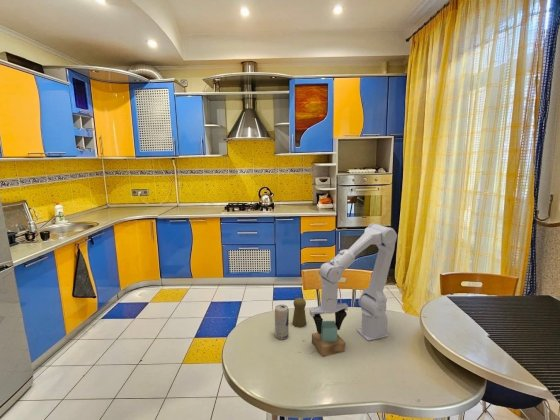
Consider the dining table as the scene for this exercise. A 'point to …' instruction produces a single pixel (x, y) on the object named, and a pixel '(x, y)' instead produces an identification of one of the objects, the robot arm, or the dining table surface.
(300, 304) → the cork
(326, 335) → the teal cube
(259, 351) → the dining table surface
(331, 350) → the walnut block
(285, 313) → the energy drink
